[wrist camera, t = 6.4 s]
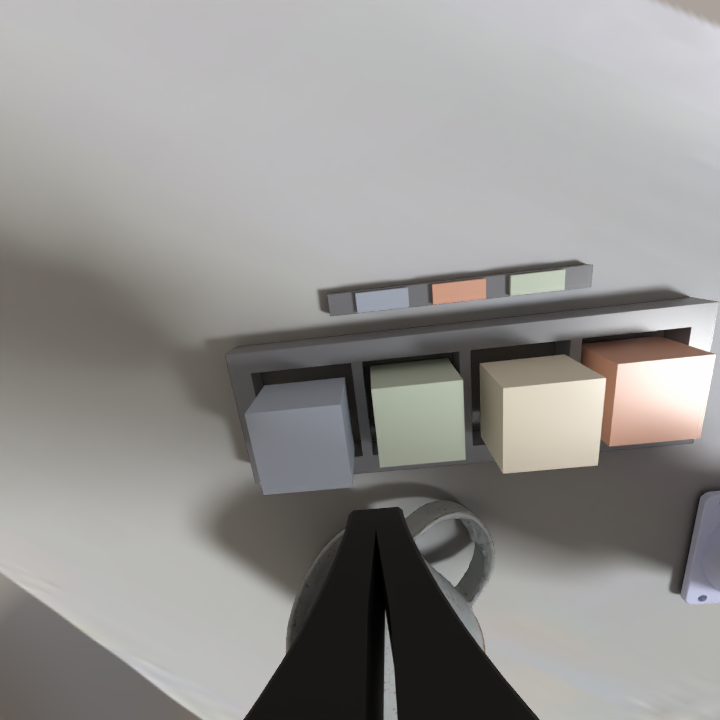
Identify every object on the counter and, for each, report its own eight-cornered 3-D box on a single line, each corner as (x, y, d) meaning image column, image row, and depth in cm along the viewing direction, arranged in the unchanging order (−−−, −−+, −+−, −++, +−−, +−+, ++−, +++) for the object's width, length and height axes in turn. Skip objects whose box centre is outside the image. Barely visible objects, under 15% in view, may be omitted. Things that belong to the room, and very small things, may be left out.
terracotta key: (658, 335, 17) (715, 354, 15) (648, 408, 19) (700, 438, 16) (577, 344, 18) (617, 364, 15) (572, 415, 19) (609, 446, 16)
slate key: (344, 377, 17) (340, 404, 14) (354, 448, 18) (352, 487, 15) (264, 385, 17) (244, 414, 14) (279, 455, 18) (263, 495, 16)
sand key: (564, 354, 17) (606, 378, 14) (560, 429, 18) (598, 465, 15) (479, 363, 17) (503, 388, 14) (480, 436, 18) (502, 473, 15)
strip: (586, 263, 17) (595, 264, 16) (585, 285, 17) (593, 287, 16) (328, 293, 17) (326, 295, 17) (331, 314, 18) (329, 317, 17)
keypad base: (691, 297, 17) (719, 301, 16) (670, 429, 19) (693, 443, 18) (235, 346, 18) (224, 355, 17) (262, 467, 20) (255, 483, 19)
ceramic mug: (387, 634, 24) (399, 801, 17) (296, 564, 23) (265, 718, 15) (515, 543, 22) (592, 691, 15) (424, 459, 20) (461, 578, 13)
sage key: (447, 357, 18) (463, 379, 15) (450, 427, 19) (465, 459, 16) (370, 366, 18) (371, 389, 15) (377, 434, 19) (380, 467, 16)
